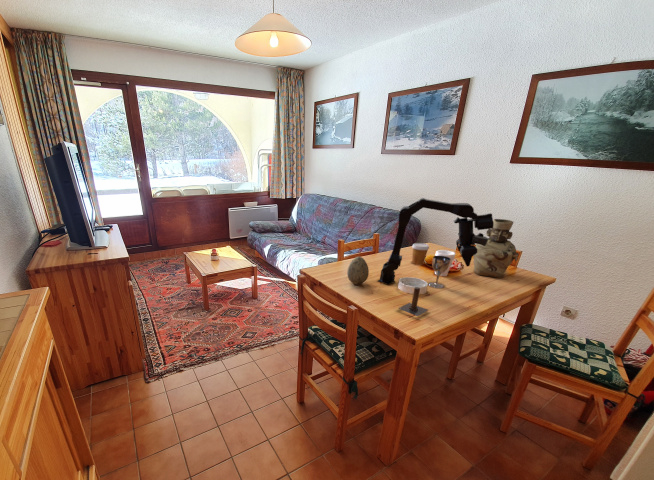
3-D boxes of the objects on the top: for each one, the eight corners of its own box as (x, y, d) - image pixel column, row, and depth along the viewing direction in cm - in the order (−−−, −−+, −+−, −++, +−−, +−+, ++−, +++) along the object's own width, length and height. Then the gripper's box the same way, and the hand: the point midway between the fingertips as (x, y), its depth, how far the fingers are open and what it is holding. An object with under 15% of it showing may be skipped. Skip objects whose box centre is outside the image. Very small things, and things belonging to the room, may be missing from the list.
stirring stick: (407, 308, 134) (411, 287, 130) (411, 306, 136) (415, 285, 132) (415, 312, 131) (419, 290, 127) (419, 309, 133) (423, 288, 129)
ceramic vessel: (499, 282, 164) (516, 226, 153) (462, 270, 182) (474, 219, 170) (519, 276, 173) (536, 223, 161) (481, 265, 190) (494, 216, 178)
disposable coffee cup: (428, 266, 188) (432, 247, 184) (412, 265, 188) (416, 247, 184) (421, 260, 197) (425, 242, 192) (407, 260, 197) (410, 242, 193)
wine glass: (446, 288, 157) (452, 261, 151) (429, 287, 158) (435, 260, 152) (442, 282, 164) (448, 256, 158) (426, 281, 165) (431, 255, 160)
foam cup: (432, 275, 173) (436, 253, 168) (431, 270, 181) (435, 249, 176) (451, 278, 170) (456, 255, 165) (449, 272, 178) (454, 251, 173)
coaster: (397, 311, 135) (398, 308, 134) (408, 305, 140) (409, 302, 139) (417, 319, 128) (417, 316, 128) (428, 313, 133) (428, 309, 133)
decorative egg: (342, 281, 166) (345, 254, 160) (361, 279, 169) (363, 253, 163) (352, 289, 157) (354, 261, 151) (371, 286, 159) (374, 259, 153)
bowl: (392, 290, 155) (393, 281, 153) (406, 283, 163) (408, 275, 161) (417, 299, 146) (418, 289, 144) (431, 292, 153) (432, 282, 151)
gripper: (491, 233, 131) (490, 268, 136) (482, 224, 148) (482, 256, 152) (461, 236, 136) (461, 270, 141) (455, 228, 152) (456, 258, 157)
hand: (466, 263), depth 147 cm, fingers open, 9 cm apart
